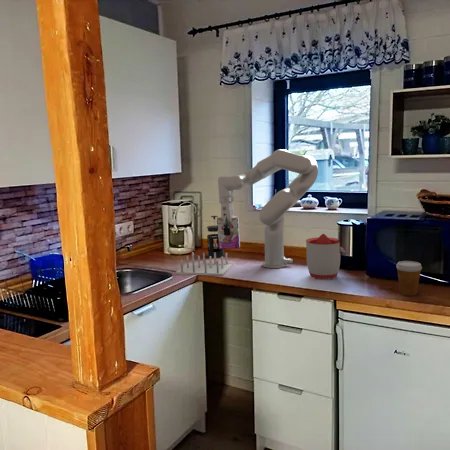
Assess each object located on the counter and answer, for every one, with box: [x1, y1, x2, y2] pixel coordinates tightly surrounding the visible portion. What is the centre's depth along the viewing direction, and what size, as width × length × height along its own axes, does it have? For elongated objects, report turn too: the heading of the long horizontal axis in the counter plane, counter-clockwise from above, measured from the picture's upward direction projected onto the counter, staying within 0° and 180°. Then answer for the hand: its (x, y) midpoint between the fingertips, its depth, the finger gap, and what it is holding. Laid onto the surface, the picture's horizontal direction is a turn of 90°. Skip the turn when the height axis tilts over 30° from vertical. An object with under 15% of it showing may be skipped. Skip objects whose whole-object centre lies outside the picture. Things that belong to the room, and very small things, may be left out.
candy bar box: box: [216, 216, 241, 250], centre depth 239 cm, size 11×5×16 cm, turn 84°
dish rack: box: [175, 251, 234, 277], centre depth 228 cm, size 24×19×7 cm
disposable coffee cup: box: [396, 260, 423, 296], centre depth 181 cm, size 10×10×12 cm
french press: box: [206, 215, 225, 259], centre depth 257 cm, size 12×9×23 cm
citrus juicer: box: [305, 233, 346, 280], centre depth 208 cm, size 16×17×20 cm
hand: (228, 233), depth 239 cm, fingers closed on candy bar box, 5 cm apart
